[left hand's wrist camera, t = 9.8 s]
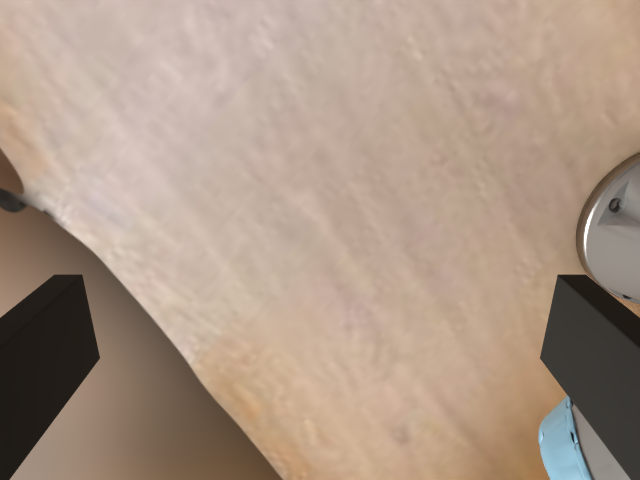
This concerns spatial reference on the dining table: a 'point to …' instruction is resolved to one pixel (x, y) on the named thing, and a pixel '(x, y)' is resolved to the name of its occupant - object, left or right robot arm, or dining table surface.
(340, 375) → the dining table surface
